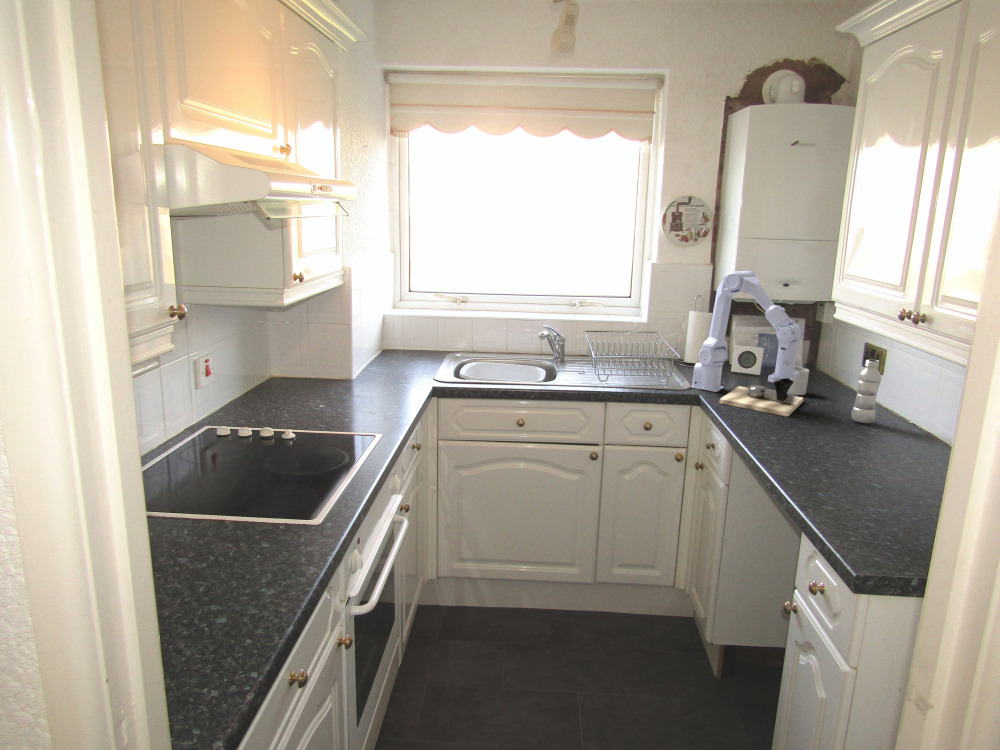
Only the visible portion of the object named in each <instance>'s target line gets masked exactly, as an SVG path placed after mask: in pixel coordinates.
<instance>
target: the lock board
mask: <svg viewBox="0 0 1000 750" xmlns="http://www.w3.org/2000/svg"><path fill="white" fill-rule="evenodd" d="M748 389H749V387H746V386H741V385H739V386H737V387H735V388H734V389H732V390H731V391H730V392H728V393H727V394H725V395H723V396H722V397H721V398H719V401H718V402H719V404H721V405H727V406H731V407H736V408H741V409H742V408H743V409H747V410H751V411H757V412H763V413H766V414H767V413H768V414H773V415H776V416H782V417H787V416H788V417H789V416H790V415H791V414H792V413H793V412H794V411H795V410H796V409H797V408H799V406H800V405H801V404H802V403H803V402H804V397H802V396H797V395H795V396H794V403H793V404H788V403H784V402H779V401H775V400H770V399H766V398H754V397H750V396H748Z"/></svg>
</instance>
